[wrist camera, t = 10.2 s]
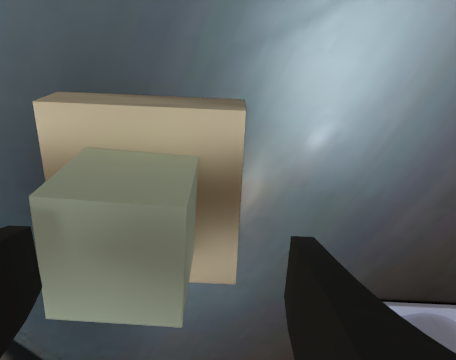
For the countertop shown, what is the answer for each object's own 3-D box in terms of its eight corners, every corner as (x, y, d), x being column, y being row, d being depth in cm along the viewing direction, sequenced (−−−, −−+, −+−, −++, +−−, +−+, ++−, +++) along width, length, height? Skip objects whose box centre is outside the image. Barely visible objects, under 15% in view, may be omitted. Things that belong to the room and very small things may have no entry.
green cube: (193, 251, 18) (181, 327, 14) (92, 244, 18) (46, 318, 14) (198, 156, 17) (186, 208, 12) (85, 147, 16) (28, 196, 12)
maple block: (235, 251, 22) (235, 284, 19) (82, 244, 22) (61, 276, 19) (244, 97, 18) (246, 110, 16) (62, 89, 18) (32, 101, 16)
